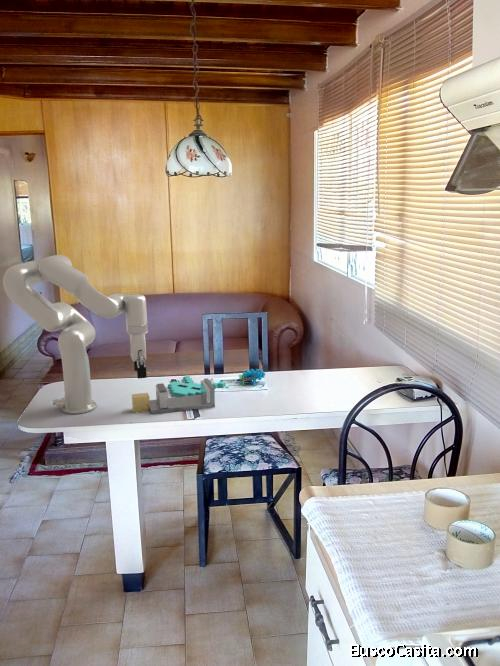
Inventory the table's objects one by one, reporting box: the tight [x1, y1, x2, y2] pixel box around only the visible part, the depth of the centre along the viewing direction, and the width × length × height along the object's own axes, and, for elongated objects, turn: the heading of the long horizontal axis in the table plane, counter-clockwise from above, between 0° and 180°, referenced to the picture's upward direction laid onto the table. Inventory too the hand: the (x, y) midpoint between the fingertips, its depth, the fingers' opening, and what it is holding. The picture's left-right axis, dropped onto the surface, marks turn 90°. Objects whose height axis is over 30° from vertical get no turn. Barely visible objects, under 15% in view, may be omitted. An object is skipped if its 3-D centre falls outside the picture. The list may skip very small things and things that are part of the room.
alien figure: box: [167, 375, 227, 398], centre depth 231 cm, size 20×2×20 cm
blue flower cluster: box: [238, 368, 266, 386], centre depth 236 cm, size 11×6×10 cm
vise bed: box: [149, 377, 216, 415], centre depth 212 cm, size 24×11×8 cm, turn 108°
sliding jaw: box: [155, 382, 169, 409], centre depth 210 cm, size 3×10×7 cm, turn 18°
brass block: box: [131, 392, 150, 414], centre depth 208 cm, size 6×4×6 cm, turn 108°
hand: (140, 374), depth 205 cm, fingers open, 9 cm apart
